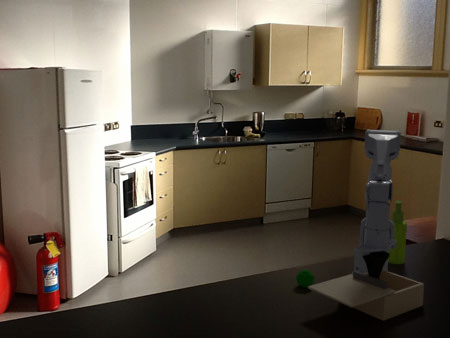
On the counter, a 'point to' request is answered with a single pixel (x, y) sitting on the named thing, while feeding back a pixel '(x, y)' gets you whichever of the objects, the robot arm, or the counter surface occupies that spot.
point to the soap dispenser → (398, 236)
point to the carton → (395, 297)
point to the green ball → (305, 278)
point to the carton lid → (353, 289)
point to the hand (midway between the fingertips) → (373, 279)
